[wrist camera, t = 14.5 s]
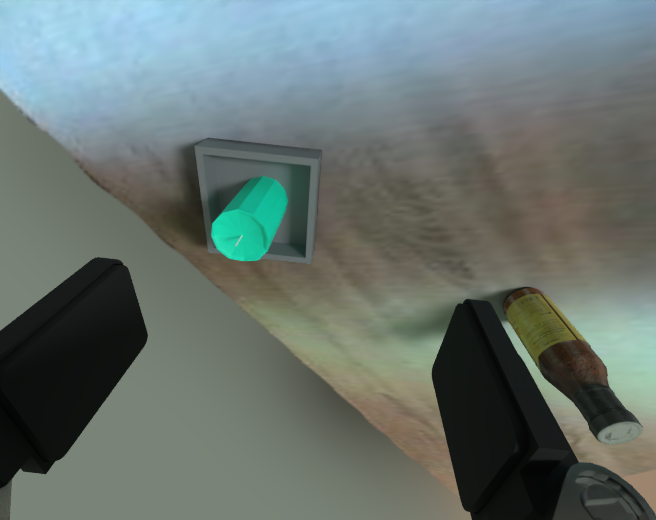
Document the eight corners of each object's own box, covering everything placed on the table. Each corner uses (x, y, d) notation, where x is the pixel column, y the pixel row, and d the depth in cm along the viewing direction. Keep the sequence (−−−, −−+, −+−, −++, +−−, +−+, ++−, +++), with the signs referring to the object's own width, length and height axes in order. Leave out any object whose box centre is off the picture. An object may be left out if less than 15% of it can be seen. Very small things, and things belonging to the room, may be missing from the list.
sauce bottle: (493, 313, 50) (563, 445, 33) (514, 281, 46) (604, 409, 30) (534, 321, 50) (624, 456, 33) (557, 290, 47) (671, 422, 30)
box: (208, 137, 39) (194, 145, 35) (321, 150, 38) (318, 159, 35) (219, 237, 46) (208, 252, 43) (314, 248, 46) (311, 264, 42)
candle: (234, 205, 42) (196, 252, 32) (253, 166, 39) (218, 205, 29) (275, 228, 44) (250, 280, 33) (296, 192, 41) (277, 238, 31)
